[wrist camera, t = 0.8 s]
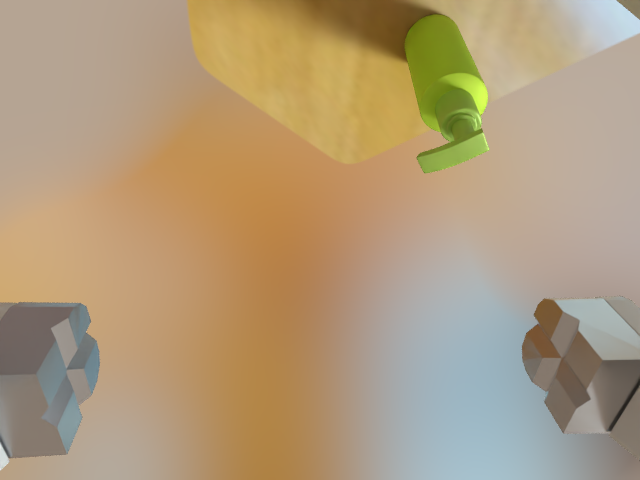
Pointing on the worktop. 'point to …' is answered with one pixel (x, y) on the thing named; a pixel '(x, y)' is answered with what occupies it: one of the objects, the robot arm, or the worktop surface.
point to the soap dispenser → (446, 91)
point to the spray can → (632, 6)
